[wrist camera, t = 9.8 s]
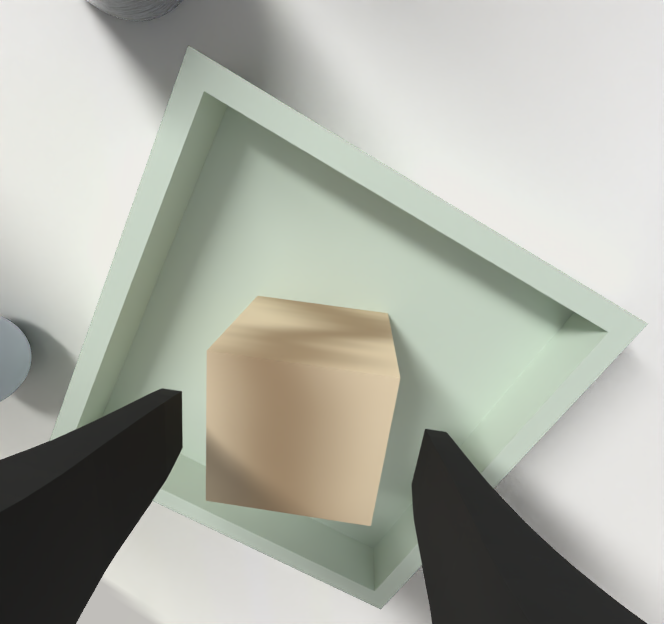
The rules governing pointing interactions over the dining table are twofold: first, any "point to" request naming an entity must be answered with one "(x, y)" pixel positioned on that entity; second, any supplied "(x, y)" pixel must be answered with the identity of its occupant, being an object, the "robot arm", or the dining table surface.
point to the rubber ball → (12, 357)
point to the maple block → (300, 409)
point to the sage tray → (336, 290)
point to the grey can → (135, 8)
